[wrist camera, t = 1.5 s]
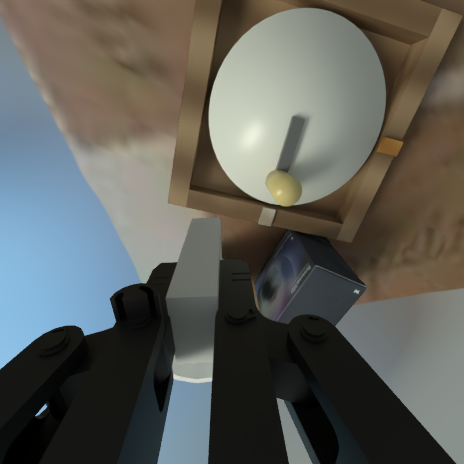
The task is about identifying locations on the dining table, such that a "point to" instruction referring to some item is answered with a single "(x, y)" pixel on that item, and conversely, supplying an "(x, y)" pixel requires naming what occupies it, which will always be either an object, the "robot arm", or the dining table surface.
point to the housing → (391, 134)
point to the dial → (297, 106)
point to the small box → (306, 280)
